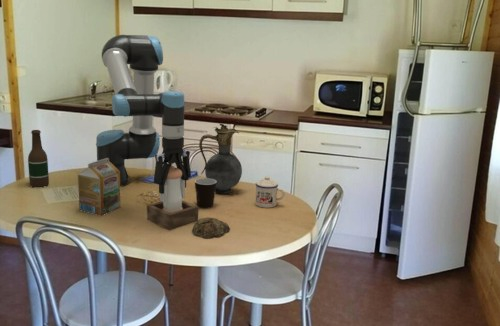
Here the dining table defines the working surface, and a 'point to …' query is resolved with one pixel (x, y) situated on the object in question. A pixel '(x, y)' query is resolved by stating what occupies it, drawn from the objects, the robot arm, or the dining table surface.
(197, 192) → the coffee mug
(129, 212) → the dining table surface
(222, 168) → the pitcher
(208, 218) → the bread roll
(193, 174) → the dish towel
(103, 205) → the milk carton
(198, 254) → the dining table surface
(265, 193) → the teacup with lid
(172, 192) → the pepper shaker
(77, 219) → the dining table surface
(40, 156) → the beer bottle
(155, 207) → the square wooden tray
